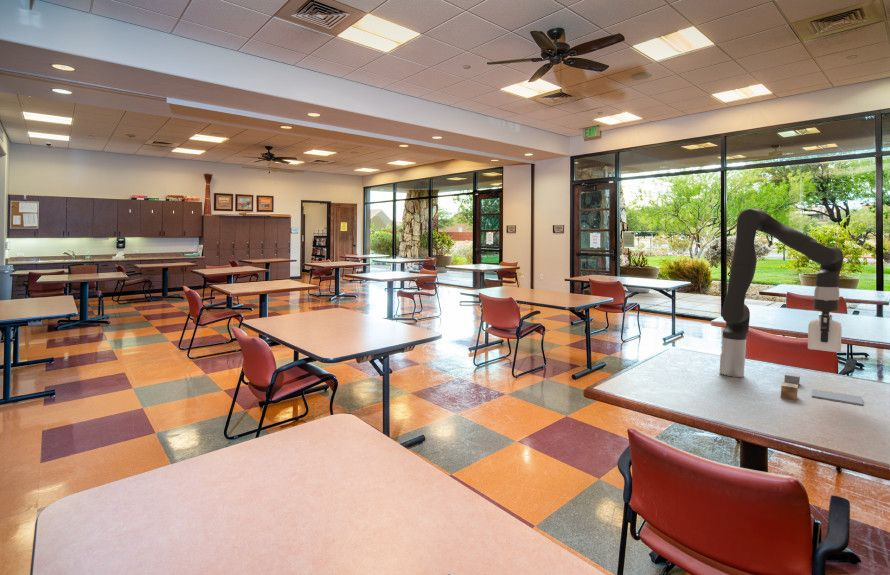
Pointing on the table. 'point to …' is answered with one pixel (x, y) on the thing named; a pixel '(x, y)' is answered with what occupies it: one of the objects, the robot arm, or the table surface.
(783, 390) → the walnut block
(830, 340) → the photo printer
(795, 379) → the gray block
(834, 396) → the slate mat
